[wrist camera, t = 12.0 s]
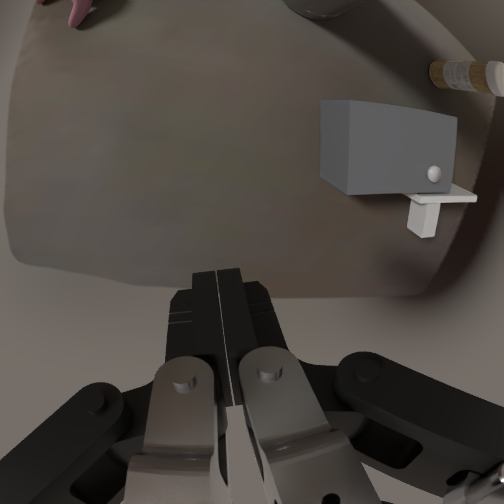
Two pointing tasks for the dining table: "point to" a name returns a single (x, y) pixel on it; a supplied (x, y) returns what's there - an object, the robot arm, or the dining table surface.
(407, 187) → the box
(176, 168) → the dining table surface
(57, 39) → the dining table surface
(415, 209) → the side cover
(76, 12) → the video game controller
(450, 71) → the sprinkles bottle
